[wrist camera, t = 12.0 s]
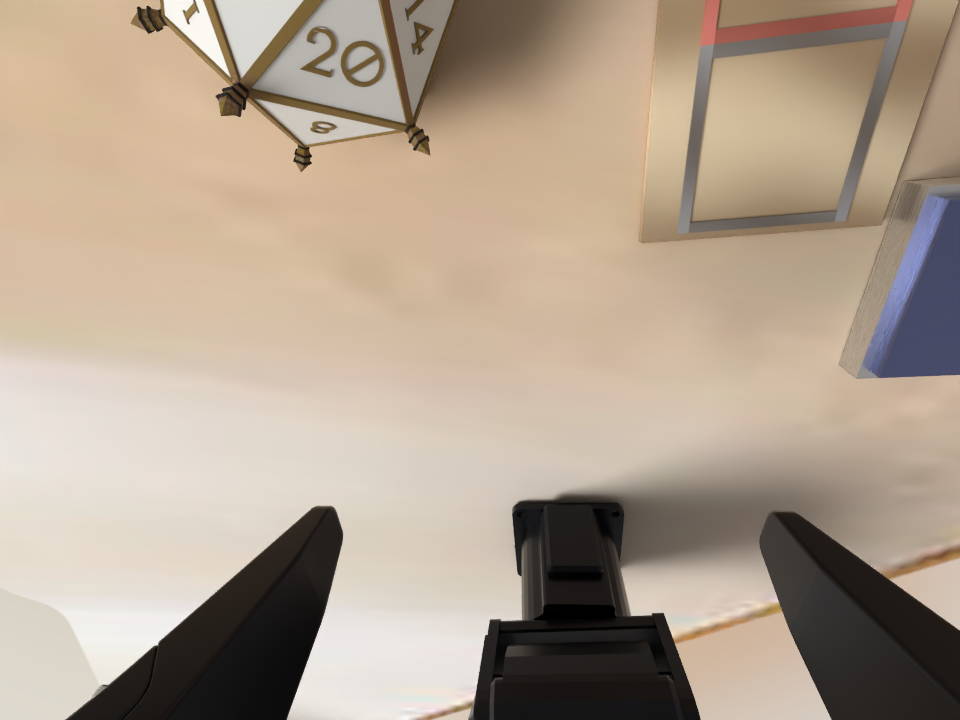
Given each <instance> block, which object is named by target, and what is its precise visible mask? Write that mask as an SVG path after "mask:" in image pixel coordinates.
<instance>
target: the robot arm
mask: <svg viewBox="0 0 960 720" xmlns="http://www.w3.org/2000/svg"><path fill="white" fill-rule="evenodd" d="M614 511H616V512H614ZM512 516H513V527H514V538H515V550H516V561H517V572H518V574H519V575H520V576H522V620H517V621H501V619H492V620H490V623H489V629H488V635H486V636H485V640H484V647H483V653H482V659H481V666H480V672H479V678H478V684H477V690H476V696H475V699H474V702H473V705H472V709H471V712H470V715H469V719H468V720H700V715H699V712H698V708H697V705H696V702H695V698H694V696H693V693H692V690H691V687H690V684H689V682H688V679H687V676H686V673H685V670H684V668H683V665H682V662H681V659H680V657H679V654H678V651H677V649H676V646H675V643H674V640H673V638H672V635H671V632H670V629H669V627H668V624H667V621H666V619H665V616H664V613H652V615H650V616H631V613H630V609H629V604H628V600H627V595H626V591H625V586H624V582H623V577H622V573H621V568H620V553H621V542H622V532H623V521H624V511H623V508H622V506H621V505H620V504H618V503H546V504H517V505H515V506H514V507H513V509H512ZM342 541H343V531H342V528H341V524H340V521H339V518H338V515H337V512H336V510H335V508H334V507H332V506H316V507H314V508H312V509H311V510H310V511H308V512H307V513H306V514H305V515H304V516H303V517H302V518H300V519H299V520H298V521H297V522H296V523H295V524H294V525H292V526H291V527H290V528H289V529H288V530H287V531H286V532H284V533H283V534H282V535H281V536H280V537H279V538H278V539H276V540H275V541H274V542H273V543H272V544H271V545H269V546H268V547H267V548H266V549H265V550H264V551H263V552H261V553H260V554H259V555H258V556H257V557H256V558H255V559H253V560H252V561H251V562H250V563H249V564H248V565H247V566H245V567H244V568H243V569H242V570H241V571H240V572H239V573H237V574H236V575H235V576H234V577H233V578H232V579H230V580H229V581H228V582H227V583H226V584H225V585H224V586H222V587H221V588H220V589H219V590H218V591H217V592H216V593H214V594H213V595H212V596H211V597H210V598H209V599H208V600H206V601H205V602H204V603H203V604H202V605H201V606H200V607H198V608H197V609H196V610H195V611H194V612H193V613H191V614H190V615H189V616H188V617H187V618H186V619H185V620H183V621H182V622H181V623H180V624H179V625H178V626H177V627H175V628H174V629H173V630H172V631H171V632H170V633H169V634H167V635H166V636H165V637H164V638H163V639H162V640H160V641H159V643H158V646H157V645H156V646H153V647H152V648H151V649H150V650H149V651H148V652H147V653H145V654H144V655H143V656H142V657H141V658H140V659H138V660H137V661H136V662H135V663H134V664H133V665H132V666H130V667H129V668H128V669H127V670H126V671H124V672H123V673H122V674H121V675H120V676H119V677H117V678H116V679H115V680H114V681H113V682H111V683H110V684H109V685H108V686H107V687H105V688H104V689H103V690H102V691H101V692H99V693H98V694H97V695H96V696H94V697H93V698H92V699H91V700H90V701H88V702H87V703H86V704H84V705H83V706H82V707H81V708H80V709H78V710H77V711H76V712H74V713H73V714H72V715H71V716H70V717H68V718H67V719H66V720H287V717H288V714H289V711H290V708H291V706H292V703H293V700H294V697H295V694H296V692H297V689H298V686H299V683H300V681H301V678H302V675H303V672H304V669H305V667H306V664H307V661H308V658H309V655H310V653H311V650H312V647H313V644H314V642H315V639H316V636H317V633H318V630H319V628H320V625H321V622H322V619H323V616H324V613H325V609H326V606H327V602H328V598H329V594H330V590H331V586H332V582H333V578H334V574H335V570H336V566H337V562H338V558H339V554H340V550H341V546H342ZM759 543H760V549H761V552H762V555H763V558H764V561H765V564H766V566H767V569H768V572H769V575H770V578H771V580H772V583H773V586H774V589H775V592H776V594H777V597H778V600H779V603H780V606H781V608H782V611H783V614H784V617H785V619H786V622H787V624H788V627H789V629H790V632H791V634H792V636H793V639H794V641H795V643H796V645H797V647H798V649H799V652H800V654H801V656H802V658H803V660H804V662H805V664H806V666H807V668H808V671H809V672H810V675H811V677H812V679H813V681H814V683H815V685H816V687H817V690H818V692H819V694H820V696H821V698H822V700H823V702H824V704H825V706H826V709H827V711H828V713H829V715H830V717H831V719H832V720H960V630H958V629H957V628H955V627H954V626H953V625H951V624H950V623H949V622H947V621H945V620H944V619H943V618H941V617H940V616H939V615H937V614H936V613H934V612H933V611H932V610H931V609H929V608H928V607H926V606H925V605H923V604H922V603H921V602H919V601H918V600H917V599H915V598H914V597H913V596H911V595H910V594H908V593H907V592H905V591H904V590H903V589H901V588H900V587H899V586H897V585H896V584H894V583H893V582H892V581H890V580H889V579H888V578H886V577H885V576H883V575H882V574H881V573H879V572H878V571H877V570H875V569H874V568H872V567H871V566H870V565H868V564H867V563H865V562H864V561H863V560H861V559H860V558H858V557H857V556H856V555H854V554H853V553H852V552H850V551H849V550H847V549H846V548H845V547H843V546H842V545H840V544H839V543H838V542H836V541H835V540H834V539H832V538H831V537H829V536H828V535H827V534H825V533H824V532H822V531H821V530H820V529H818V528H817V527H816V526H814V525H813V524H811V523H810V522H809V521H807V520H806V519H804V518H803V517H802V516H800V515H799V514H797V513H795V512H793V511H771V512H770V513H769V514H768V516H767V519H766V521H765V524H764V527H763V530H762V533H761V536H760V541H759Z"/></svg>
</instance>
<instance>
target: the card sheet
mask: <svg viewBox="0 0 960 720" xmlns="http://www.w3.org/2000/svg"><path fill="white" fill-rule="evenodd" d="M958 2H959V0H659V1H658V13H657V26H656V38H655V50H654V63H653V75H652V87H651V100H650V112H649V125H648V137H647V149H646V162H645V174H644V186H643V199H642V211H641V224H640V236H639V242H640V243H651V242H665V241H678V240H691V239H704V238H718V237H731V236H744V235H757V234H770V233H784V232H797V231H810V230H823V229H836V228H850V227H863V226H876V225H881V224H882V221H883V218H884V215H885V212H886V209H887V206H888V204H889V201H890V198H891V195H892V192H893V189H894V186H895V183H896V180H897V178H898V175H899V172H900V169H901V166H902V163H903V160H904V157H905V155H906V152H907V149H908V146H909V143H910V140H911V137H912V134H913V131H914V129H915V126H916V123H917V120H918V117H919V114H920V111H921V108H922V106H923V103H924V100H925V97H926V94H927V91H928V88H929V85H930V82H931V80H932V77H933V74H934V71H935V68H936V65H937V62H938V59H939V57H940V54H941V51H942V48H943V45H944V42H945V39H946V36H947V33H948V31H949V28H950V25H951V22H952V19H953V16H954V13H955V10H956V8H957V5H958Z"/></svg>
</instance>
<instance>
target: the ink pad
mask: <svg viewBox="0 0 960 720" xmlns="http://www.w3.org/2000/svg"><path fill="white" fill-rule="evenodd" d="M839 365H840V366H841V367H842V368H843V369H845V370H846V371H847V372H848V373H850V374H851V375H852V376H853V377H855V378H856V379H861V378H889V377H915V376H941V375H960V177H951V178H939V179H928V180H916V181H904V183H903V186H902V189H901V191H900V194H899V197H898V200H897V203H896V205H895V208H894V211H893V214H892V217H891V220H890V222H889V225H888V228H887V231H886V234H885V236H884V239H883V242H882V245H881V248H880V250H879V253H878V256H877V259H876V262H875V265H874V267H873V270H872V273H871V276H870V279H869V281H868V284H867V287H866V290H865V293H864V296H863V298H862V301H861V304H860V307H859V310H858V312H857V315H856V318H855V321H854V324H853V327H852V329H851V332H850V335H849V338H848V341H847V343H846V346H845V349H844V352H843V355H842V357H841V360H840V363H839Z"/></svg>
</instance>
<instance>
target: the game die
mask: <svg viewBox="0 0 960 720" xmlns="http://www.w3.org/2000/svg"><path fill="white" fill-rule="evenodd" d="M458 1H459V0H160V4H161V9H160V10H155V9H151V8H150V7H149V6H146V7H147V9H141V8H140V7H137V13H136V15H135V16H134V18H133V20H132V22H131V24H133V25H135V26H137V27H139V28H141V29H144V30H146V31H147V32H148V34H149V33H152V32H153V31H155V30H156V31H157V32H158V31H160V30H162V29H163V26H168V27H170V28H171V29H172V30H173V31H174V32H175V33H176V34H177V35H178V36H179V37H180V38H181V39H182V40H183V41H184V42H185V43H186V44H187V45H188V46H189V47H190V48H192V49H193V50H194V51H195V52H196V53H197V54H198V55H199V56H200V57H201V58H202V59H203V60H204V61H205V62H206V63H207V64H208V65H209V66H210V67H211V68H212V69H214V70H215V71H216V72H217V73H218V74H219V75H220V76H221V77H222V78H223V79H224V80H225V81H226V82H227V83H228V84H229V85H230V86H231V87H227V88H223V89H222V91H223V93H221V94H218V95H216V97H217V99H218V101H219V106H220V113H221V116H230V115H236V116H238V117H240V116H241V111H242V109H243V110H245V109H246V100H247V101H248V102H249V103H250V104H251V105H253V106H254V107H255V108H256V109H257V110H258V111H259V112H261V113H262V114H263V115H264V116H265V117H266V118H268V119H269V120H270V121H271V122H272V123H273V124H275V125H276V126H277V127H278V128H279V129H280V130H281V131H283V132H284V133H285V134H286V135H287V136H288V137H290V138H291V139H292V140H293V141H294V142H295V143H297V144H298V149H296V151H295V155H296V156H295V158H294V162H296V164H297V166H298V167H299V169H300V171H301V172H302V171H303V170H304V169H305V168H306V167H307V166H308V165H310V164H312V162H310V158H311V157H312V155H311V154H310V152H309V148H310V147H312V146H319V145H325V144H331V143H337V142H344V141H350V140H356V139H362V138H368V137H375V136H381V135H387V134H393V133H399V132H406V133H407V134H408V137H409V141H408V142H409V143H412V145H413V146H414V148H413V150H414V151H415V150H418V151H420V152H423V153H425V154H427V155H430V150H429V144H428V142H429V137H428V135H427V136H425V134H424V131H423V129H419V128H418V127H417V126H416V125H415V124H416V121H417V118H418V116H419V113H420V110H421V107H422V104H423V101H424V98H425V96H426V93H427V90H428V87H429V84H430V81H431V78H432V76H433V73H434V70H435V67H436V64H437V61H438V58H439V56H440V53H441V50H442V47H443V44H444V41H445V39H446V36H447V33H448V30H449V27H450V24H451V21H452V19H453V16H454V13H455V10H456V7H457V4H458Z"/></svg>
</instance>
